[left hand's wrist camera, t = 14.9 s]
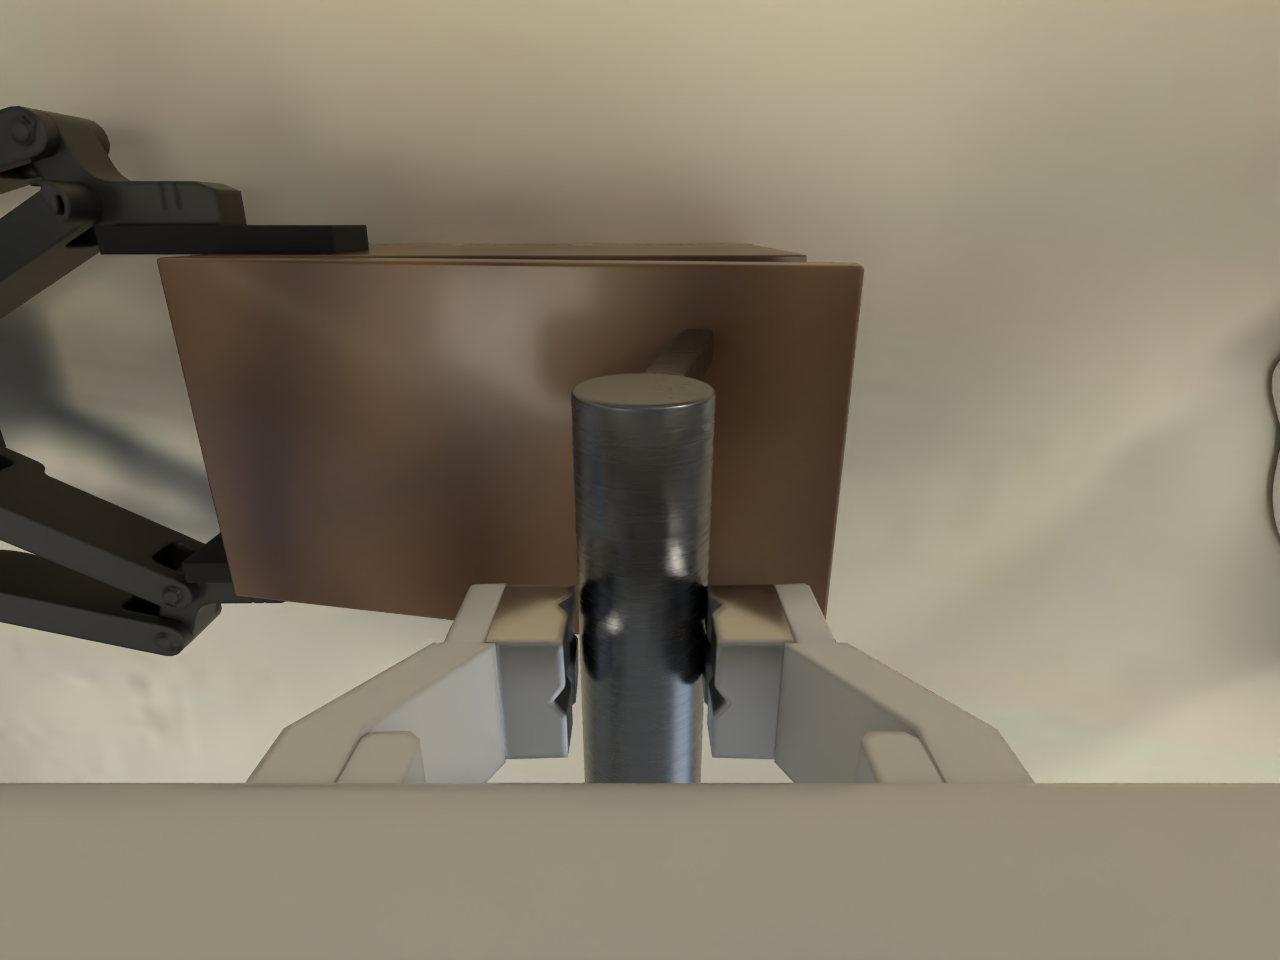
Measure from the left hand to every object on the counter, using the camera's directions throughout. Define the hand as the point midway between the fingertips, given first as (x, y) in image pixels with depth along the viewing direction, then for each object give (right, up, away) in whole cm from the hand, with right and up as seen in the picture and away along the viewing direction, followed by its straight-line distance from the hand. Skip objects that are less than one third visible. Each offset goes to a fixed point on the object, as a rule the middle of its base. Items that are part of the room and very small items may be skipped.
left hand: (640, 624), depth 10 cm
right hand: (-9, +4, +12) cm, 15 cm away
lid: (-4, +3, +8) cm, 9 cm away
